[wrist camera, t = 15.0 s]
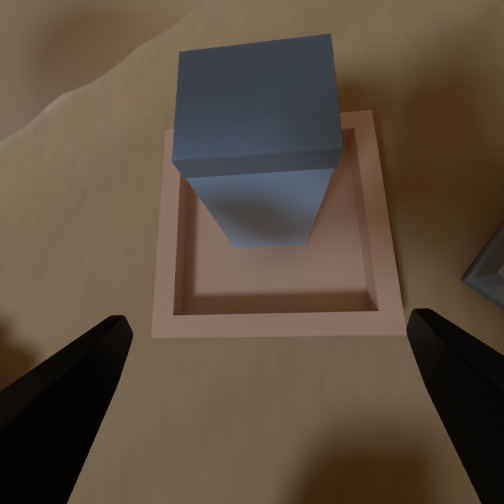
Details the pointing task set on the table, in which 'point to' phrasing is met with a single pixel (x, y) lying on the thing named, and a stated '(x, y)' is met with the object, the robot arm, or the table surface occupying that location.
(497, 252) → the bay
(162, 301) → the tray
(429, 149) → the table surface
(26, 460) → the robot arm
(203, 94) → the tall square pillar
